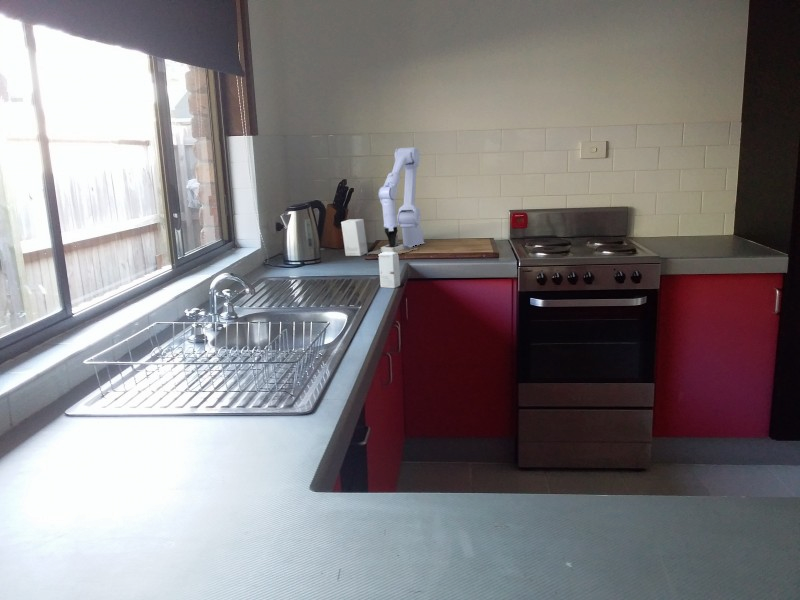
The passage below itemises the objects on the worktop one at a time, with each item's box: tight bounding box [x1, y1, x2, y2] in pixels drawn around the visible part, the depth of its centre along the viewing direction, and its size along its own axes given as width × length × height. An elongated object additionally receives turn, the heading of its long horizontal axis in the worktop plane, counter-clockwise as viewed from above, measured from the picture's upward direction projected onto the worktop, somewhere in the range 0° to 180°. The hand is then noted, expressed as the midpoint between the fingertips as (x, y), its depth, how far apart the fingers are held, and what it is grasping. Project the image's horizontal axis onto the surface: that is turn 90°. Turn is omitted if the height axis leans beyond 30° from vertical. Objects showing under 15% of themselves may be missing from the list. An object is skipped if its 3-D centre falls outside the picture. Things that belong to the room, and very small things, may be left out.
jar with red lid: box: [388, 233, 399, 247], centre depth 305 cm, size 4×4×6 cm
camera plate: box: [366, 241, 419, 256], centre depth 307 cm, size 18×14×3 cm
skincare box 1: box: [340, 218, 369, 257], centre depth 308 cm, size 8×7×16 cm
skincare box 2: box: [378, 252, 401, 289], centre depth 244 cm, size 6×4×12 cm
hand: (392, 245), depth 305 cm, fingers closed on jar with red lid, 4 cm apart
